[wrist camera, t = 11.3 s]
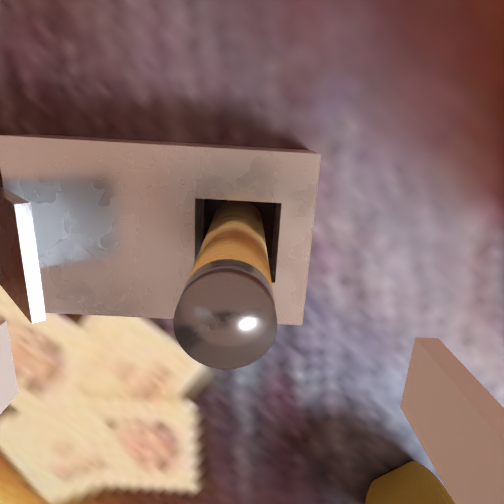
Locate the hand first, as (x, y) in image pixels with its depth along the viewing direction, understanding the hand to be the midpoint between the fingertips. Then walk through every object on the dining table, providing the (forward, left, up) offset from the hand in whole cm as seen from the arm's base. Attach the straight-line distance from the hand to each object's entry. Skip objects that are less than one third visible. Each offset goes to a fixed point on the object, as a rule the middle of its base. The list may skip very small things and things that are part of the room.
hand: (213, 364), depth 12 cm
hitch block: (-5, 0, -18) cm, 19 cm away
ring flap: (-13, 0, -11) cm, 17 cm away
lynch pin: (0, 0, -18) cm, 18 cm away
